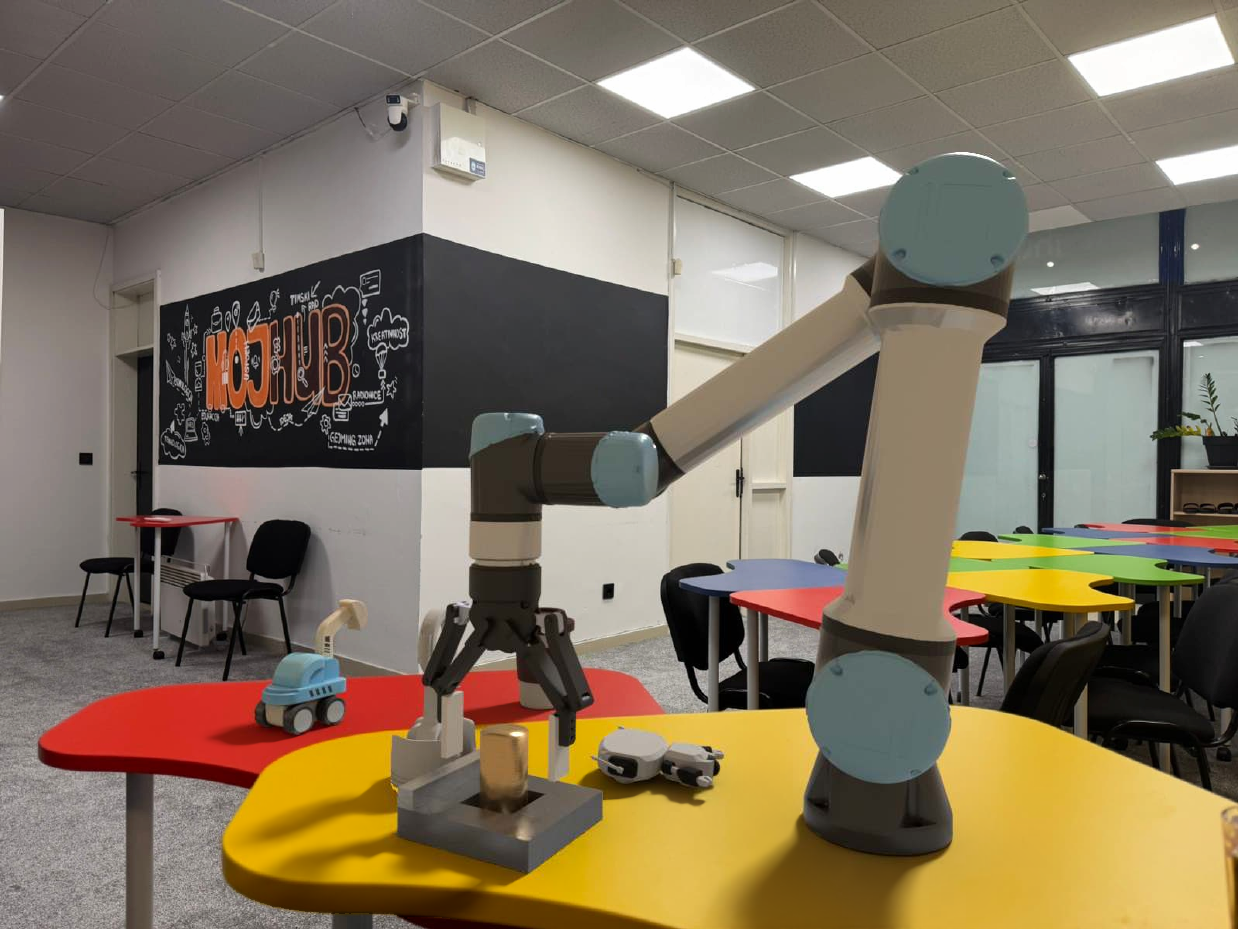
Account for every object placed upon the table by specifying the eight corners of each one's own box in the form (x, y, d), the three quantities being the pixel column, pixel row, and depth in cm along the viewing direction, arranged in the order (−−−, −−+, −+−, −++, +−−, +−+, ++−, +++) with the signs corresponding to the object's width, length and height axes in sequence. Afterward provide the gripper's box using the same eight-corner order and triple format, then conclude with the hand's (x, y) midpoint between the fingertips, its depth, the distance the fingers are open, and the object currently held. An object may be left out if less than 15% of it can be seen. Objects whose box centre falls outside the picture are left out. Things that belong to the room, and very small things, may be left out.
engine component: (374, 793, 96) (456, 801, 94) (377, 615, 96) (458, 618, 94) (416, 761, 106) (490, 767, 104) (418, 601, 106) (492, 604, 104)
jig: (602, 818, 89) (602, 772, 89) (528, 873, 77) (528, 819, 77) (482, 790, 97) (482, 747, 97) (397, 836, 84) (397, 787, 84)
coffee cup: (512, 696, 138) (513, 605, 138) (572, 695, 139) (573, 605, 139) (511, 713, 128) (512, 615, 128) (575, 712, 129) (576, 615, 129)
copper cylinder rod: (536, 823, 88) (537, 728, 88) (509, 842, 83) (510, 741, 83) (498, 814, 90) (499, 721, 90) (469, 831, 86) (470, 734, 86)
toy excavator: (381, 712, 128) (382, 600, 128) (286, 741, 114) (288, 615, 114) (344, 703, 133) (345, 595, 133) (248, 730, 119) (250, 609, 119)
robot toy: (725, 774, 106) (612, 754, 110) (728, 738, 105) (614, 719, 109) (710, 812, 94) (583, 787, 98) (713, 772, 94) (586, 749, 98)
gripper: (628, 565, 84) (626, 775, 84) (436, 552, 96) (434, 736, 96) (590, 572, 78) (588, 800, 78) (390, 557, 90) (387, 755, 89)
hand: (503, 765), depth 87 cm, fingers open, 13 cm apart
